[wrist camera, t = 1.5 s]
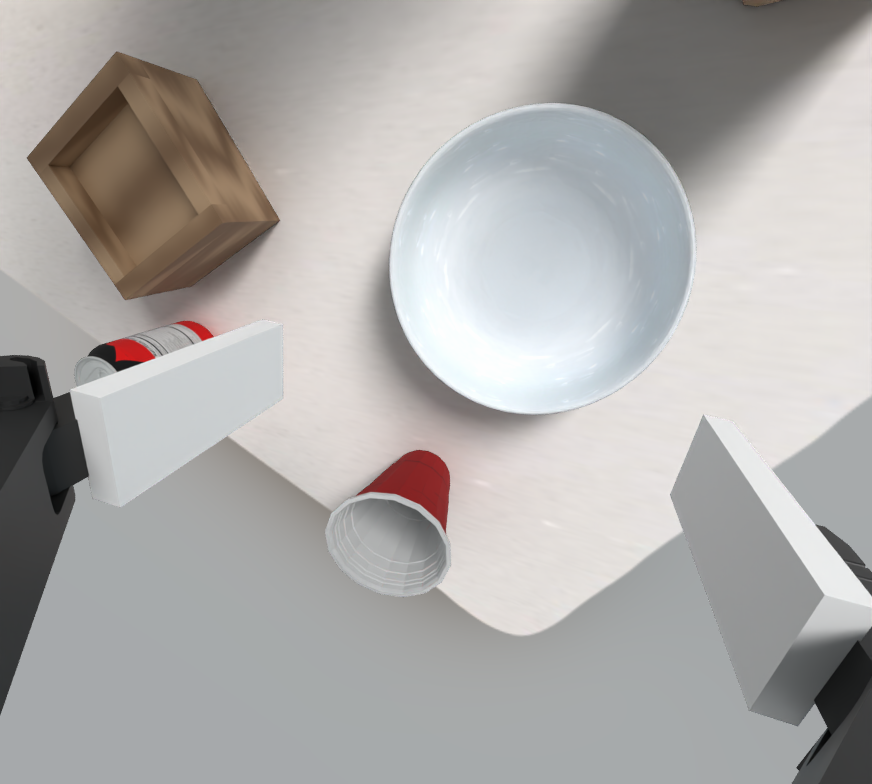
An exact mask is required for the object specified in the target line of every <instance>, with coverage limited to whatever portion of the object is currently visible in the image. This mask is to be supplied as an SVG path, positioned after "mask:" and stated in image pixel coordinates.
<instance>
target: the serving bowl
mask: <svg viewBox="0 0 872 784" xmlns="http://www.w3.org/2000/svg"><path fill="white" fill-rule="evenodd" d="M695 267H696V232H695V226H694V220H693V216H692V211H691V207H690V204H689V201H688V198H687V196H686V193H685V191H684V188H683V186H682V184H681V182H680V180H679V178H678V176H677V174H676V173H675V171H674V169H673V168H672V166H671V165H670V163H669V162H668V161H667V159H666V158H665V157H664V155H663V154H662V153H661V152H660V151H659V150H658V149H657V148H656V147H655V146H654V145H653V144H652V143H651V142H650V141H649V140H648V139H647V138H646V137H645V136H644V135H642V134H641V133H640V132H638V131H637V130H636V129H634V128H633V127H631V126H630V125H628V124H627V123H625V122H623V121H621V120H619V119H617V118H615V117H613V116H611V115H609V114H607V113H604V112H601V111H598V110H595V109H592V108H588V107H584V106H579V105H573V104H565V103H538V104H530V105H524V106H519V107H515V108H511V109H507V110H504V111H501V112H498V113H495V114H493V115H490V116H488V117H486V118H484V119H482V120H480V121H478V122H476V123H474V124H472V125H470V126H468V127H467V128H465V129H464V130H462V131H461V132H459V133H458V134H456V135H455V136H454V137H452V138H451V139H450V140H448V141H447V142H446V143H445V144H444V145H443V146H442V147H441V148H439V149H438V150H437V151H436V152H435V153H434V154H433V156H432V157H431V158H430V159H429V160H428V161H427V162H426V164H425V165H424V166H423V167H422V169H421V170H420V171H419V173H418V174H417V176H416V177H415V179H414V181H413V182H412V184H411V185H410V187H409V189H408V191H407V193H406V195H405V197H404V199H403V202H402V204H401V206H400V209H399V212H398V215H397V218H396V221H395V225H394V229H393V234H392V239H391V245H390V255H389V278H390V288H391V294H392V299H393V303H394V307H395V311H396V314H397V317H398V320H399V322H400V325H401V327H402V330H403V332H404V334H405V336H406V338H407V340H408V341H409V343H410V345H411V346H412V348H413V350H414V351H415V353H416V354H417V355H418V357H419V358H420V359H421V361H422V362H423V363H424V364H425V366H426V367H427V368H428V369H429V370H430V371H431V372H432V373H433V374H434V375H435V376H436V377H437V378H438V379H439V380H441V381H442V382H443V383H444V384H446V385H447V386H448V387H450V388H451V389H452V390H454V391H455V392H457V393H459V394H460V395H462V396H464V397H466V398H467V399H469V400H471V401H473V402H476V403H478V404H481V405H483V406H486V407H489V408H492V409H496V410H499V411H504V412H508V413H515V414H527V415H544V414H553V413H560V412H565V411H570V410H574V409H578V408H581V407H584V406H587V405H589V404H592V403H594V402H597V401H599V400H601V399H603V398H605V397H607V396H609V395H611V394H613V393H615V392H616V391H618V390H619V389H621V388H622V387H624V386H625V385H627V384H628V383H629V382H631V381H632V380H633V379H635V378H636V377H637V376H638V375H639V374H641V373H642V372H643V371H644V370H645V369H646V368H647V367H648V366H649V365H650V364H651V363H652V362H653V361H654V360H655V359H656V357H657V356H658V355H659V354H660V352H661V351H662V350H663V348H664V347H665V346H666V344H667V343H668V341H669V340H670V338H671V337H672V335H673V333H674V331H675V330H676V328H677V326H678V324H679V322H680V320H681V318H682V316H683V313H684V311H685V308H686V306H687V303H688V300H689V297H690V294H691V290H692V285H693V280H694V274H695Z"/></svg>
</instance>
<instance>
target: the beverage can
mask: <svg viewBox="0 0 872 784" xmlns="http://www.w3.org/2000/svg"><path fill="white" fill-rule="evenodd" d="M210 338H213V335H212V334H211V333H210V332H209V331H208V330H207V329H206V328H205V327H203V326H202V325H200V324H198V323H195V322H192V321H181V322H177V323H174V324H170V325H167V326H163V327H160V328H157V329H153V330H150V331H146V332H143V333H139V334H136V335H133V336H129V337H126V338H122V339H119V340H115V341H112V342H109V343H105V344H102V345H99V346H97V347H96V348H94V349H93V350H92V351H91V352H90V353H89V355H88V356H87V357H84V358H82V359H80V360H79V361H78V362H77V364H76V366H75V375H74V376H75V381H76V384H77V387H78V386H81V385H84V384H86V383H89V382H92V381H95V380H97V379H100V378H103V377H106V376H108V375H111V374H114V373H117V372H119V371H122V370H125V369H128V368H130V367H133V366H136V365H139V364H141V363H144V362H147V361H150V360H152V359H155V358H158V357H161V356H163V355H166V354H169V353H172V352H174V351H177V350H180V349H183V348H185V347H188V346H191V345H194V344H196V343H199V342H202V341H205V340H207V339H210Z"/></svg>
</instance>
